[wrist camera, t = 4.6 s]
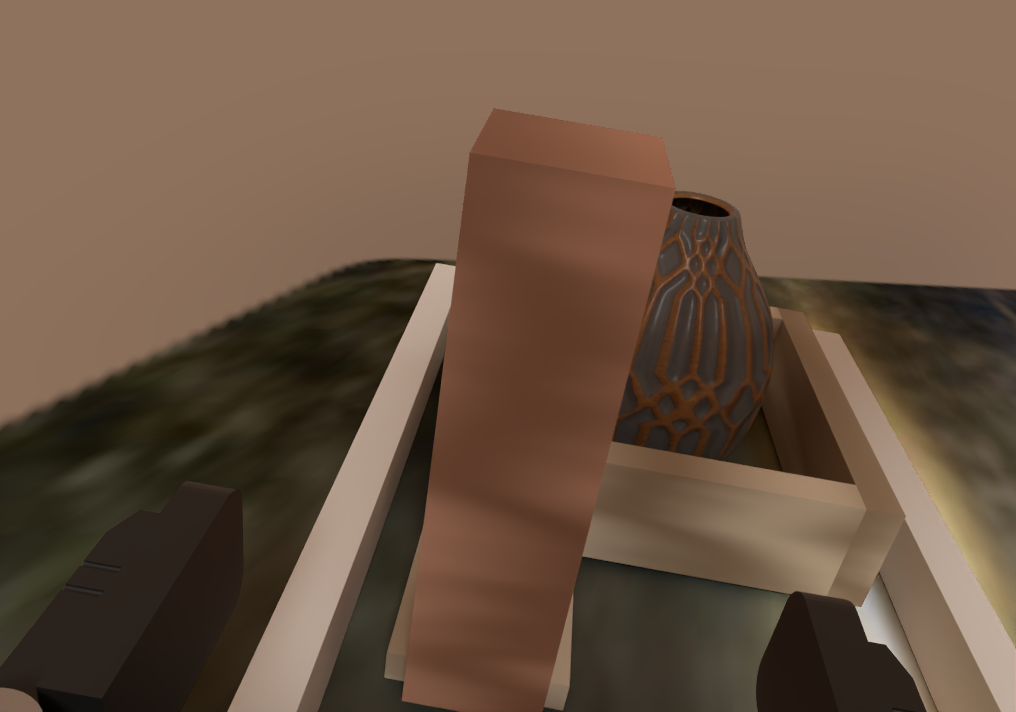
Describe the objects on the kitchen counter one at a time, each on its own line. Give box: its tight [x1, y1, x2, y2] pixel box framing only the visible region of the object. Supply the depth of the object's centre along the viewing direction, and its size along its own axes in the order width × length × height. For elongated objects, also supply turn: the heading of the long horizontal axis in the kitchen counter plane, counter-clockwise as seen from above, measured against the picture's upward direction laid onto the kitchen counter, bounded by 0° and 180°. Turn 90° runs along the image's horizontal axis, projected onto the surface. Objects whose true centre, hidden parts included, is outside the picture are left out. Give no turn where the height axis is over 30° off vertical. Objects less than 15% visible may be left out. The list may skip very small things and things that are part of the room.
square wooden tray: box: [384, 109, 906, 712], centre depth 22 cm, size 12×18×12 cm
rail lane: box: [228, 263, 1016, 712], centre depth 25 cm, size 17×22×2 cm
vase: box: [612, 191, 774, 461], centre depth 26 cm, size 7×7×9 cm
